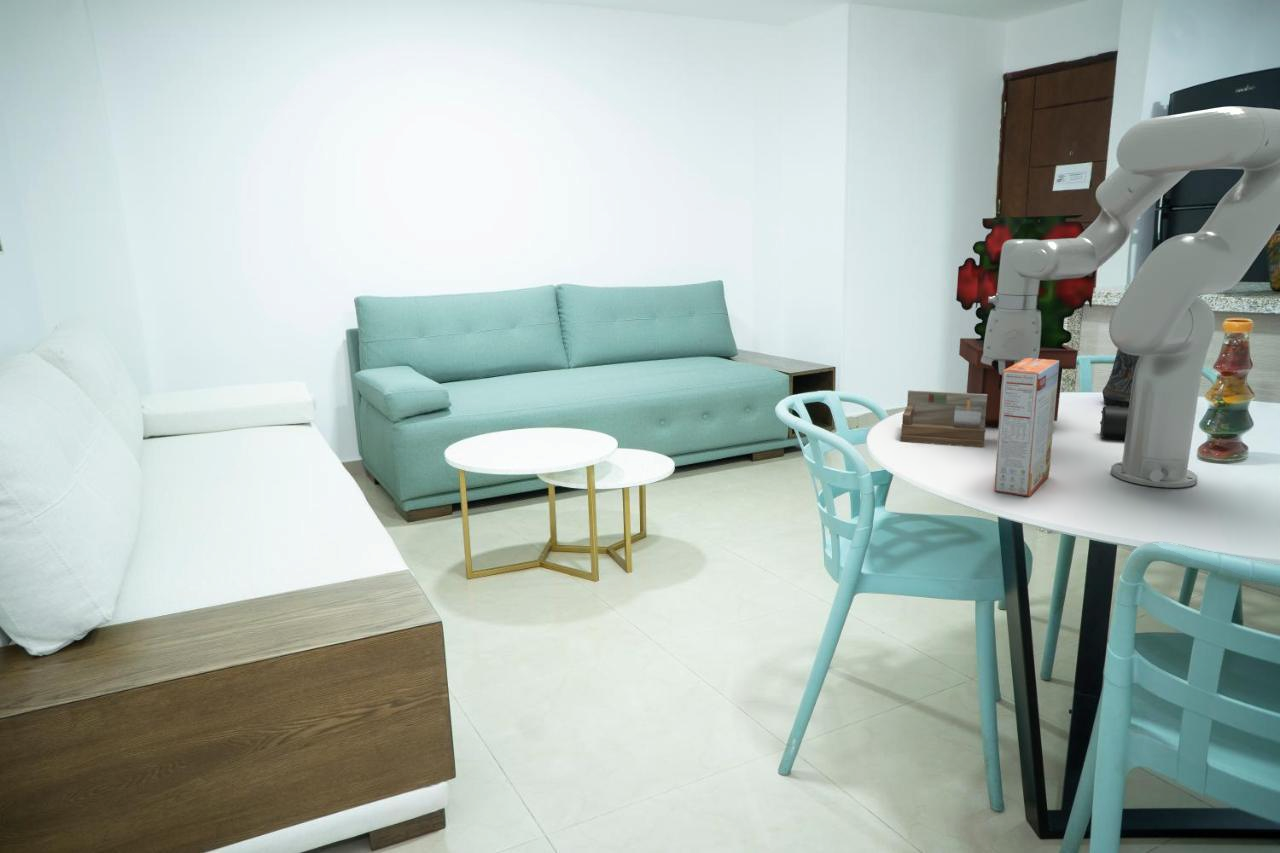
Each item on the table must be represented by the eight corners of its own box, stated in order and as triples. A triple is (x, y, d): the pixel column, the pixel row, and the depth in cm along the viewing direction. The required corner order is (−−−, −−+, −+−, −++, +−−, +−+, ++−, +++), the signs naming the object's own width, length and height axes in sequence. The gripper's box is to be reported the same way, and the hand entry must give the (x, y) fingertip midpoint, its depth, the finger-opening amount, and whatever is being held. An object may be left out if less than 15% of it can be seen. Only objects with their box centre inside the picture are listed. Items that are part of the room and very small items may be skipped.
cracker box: (1013, 471, 142) (1024, 356, 137) (1050, 477, 138) (1062, 359, 133) (990, 491, 131) (1000, 368, 126) (1029, 498, 127) (1041, 371, 123)
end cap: (1101, 441, 160) (1105, 409, 158) (1097, 433, 166) (1100, 402, 165) (1159, 445, 156) (1163, 412, 154) (1152, 437, 162) (1156, 405, 161)
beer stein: (1160, 399, 196) (1174, 298, 190) (1203, 417, 178) (1219, 306, 172) (1090, 399, 199) (1101, 299, 193) (1124, 416, 180) (1138, 307, 174)
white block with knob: (979, 435, 161) (981, 404, 160) (953, 433, 163) (955, 403, 162) (979, 430, 166) (981, 400, 164) (954, 428, 168) (956, 398, 166)
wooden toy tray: (983, 447, 157) (987, 406, 155) (900, 441, 164) (902, 402, 162) (984, 431, 170) (987, 393, 168) (906, 426, 176) (908, 389, 174)
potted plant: (1077, 434, 166) (1101, 214, 155) (966, 431, 170) (982, 217, 160) (1046, 411, 187) (1066, 216, 176) (948, 409, 191) (961, 219, 181)
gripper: (975, 303, 155) (966, 394, 160) (1060, 306, 149) (1047, 400, 154) (975, 299, 162) (966, 386, 167) (1057, 302, 156) (1045, 392, 161)
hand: (1005, 392), depth 160 cm, fingers closed
